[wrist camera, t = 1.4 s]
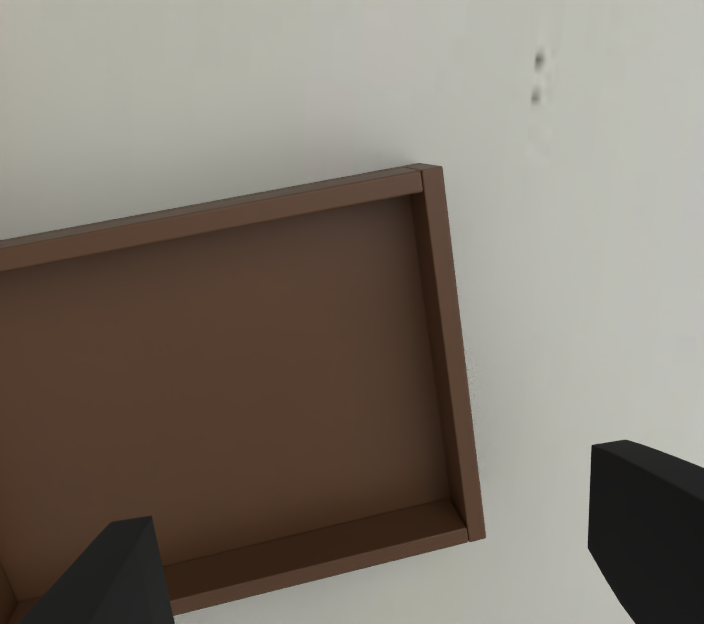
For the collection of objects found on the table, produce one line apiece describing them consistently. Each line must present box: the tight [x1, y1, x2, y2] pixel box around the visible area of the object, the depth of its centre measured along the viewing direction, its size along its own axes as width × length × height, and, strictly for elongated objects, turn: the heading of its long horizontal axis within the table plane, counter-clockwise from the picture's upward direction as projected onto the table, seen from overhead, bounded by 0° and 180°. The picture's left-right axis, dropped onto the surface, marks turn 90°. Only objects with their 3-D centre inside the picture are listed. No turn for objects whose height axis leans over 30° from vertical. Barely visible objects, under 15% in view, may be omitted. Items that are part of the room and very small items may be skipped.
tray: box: [0, 163, 486, 624], centre depth 18 cm, size 16×12×2 cm
